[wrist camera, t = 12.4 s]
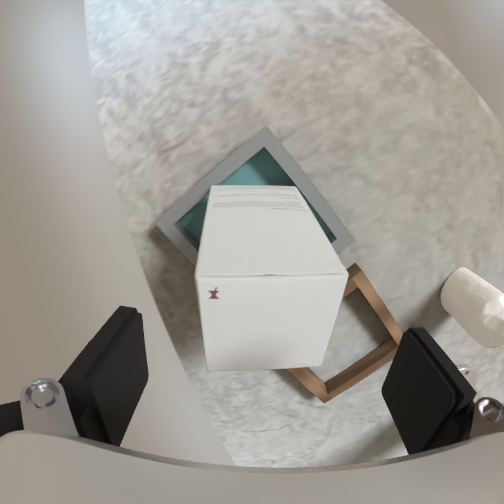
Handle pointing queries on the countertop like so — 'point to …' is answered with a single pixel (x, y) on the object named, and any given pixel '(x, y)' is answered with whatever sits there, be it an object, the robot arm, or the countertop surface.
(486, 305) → the white rounded piece
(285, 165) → the dock
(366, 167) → the countertop surface
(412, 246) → the countertop surface
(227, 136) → the countertop surface
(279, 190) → the supplement box
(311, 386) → the wooden picture frame
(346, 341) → the countertop surface
